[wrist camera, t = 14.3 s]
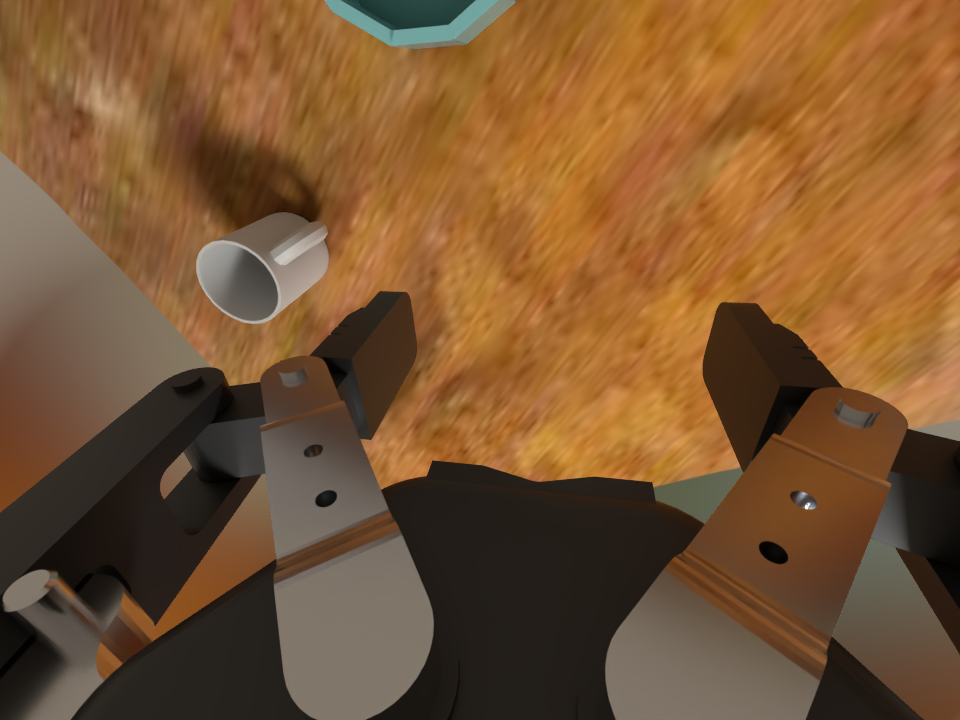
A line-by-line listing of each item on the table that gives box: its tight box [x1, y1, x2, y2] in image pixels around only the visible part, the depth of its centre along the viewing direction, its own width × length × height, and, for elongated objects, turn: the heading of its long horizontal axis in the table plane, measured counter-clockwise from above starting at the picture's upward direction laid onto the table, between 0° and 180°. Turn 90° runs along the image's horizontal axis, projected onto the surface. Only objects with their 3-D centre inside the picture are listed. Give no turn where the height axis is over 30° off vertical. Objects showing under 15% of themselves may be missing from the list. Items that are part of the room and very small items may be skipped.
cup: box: [196, 212, 329, 324], centre depth 39 cm, size 7×10×9 cm
